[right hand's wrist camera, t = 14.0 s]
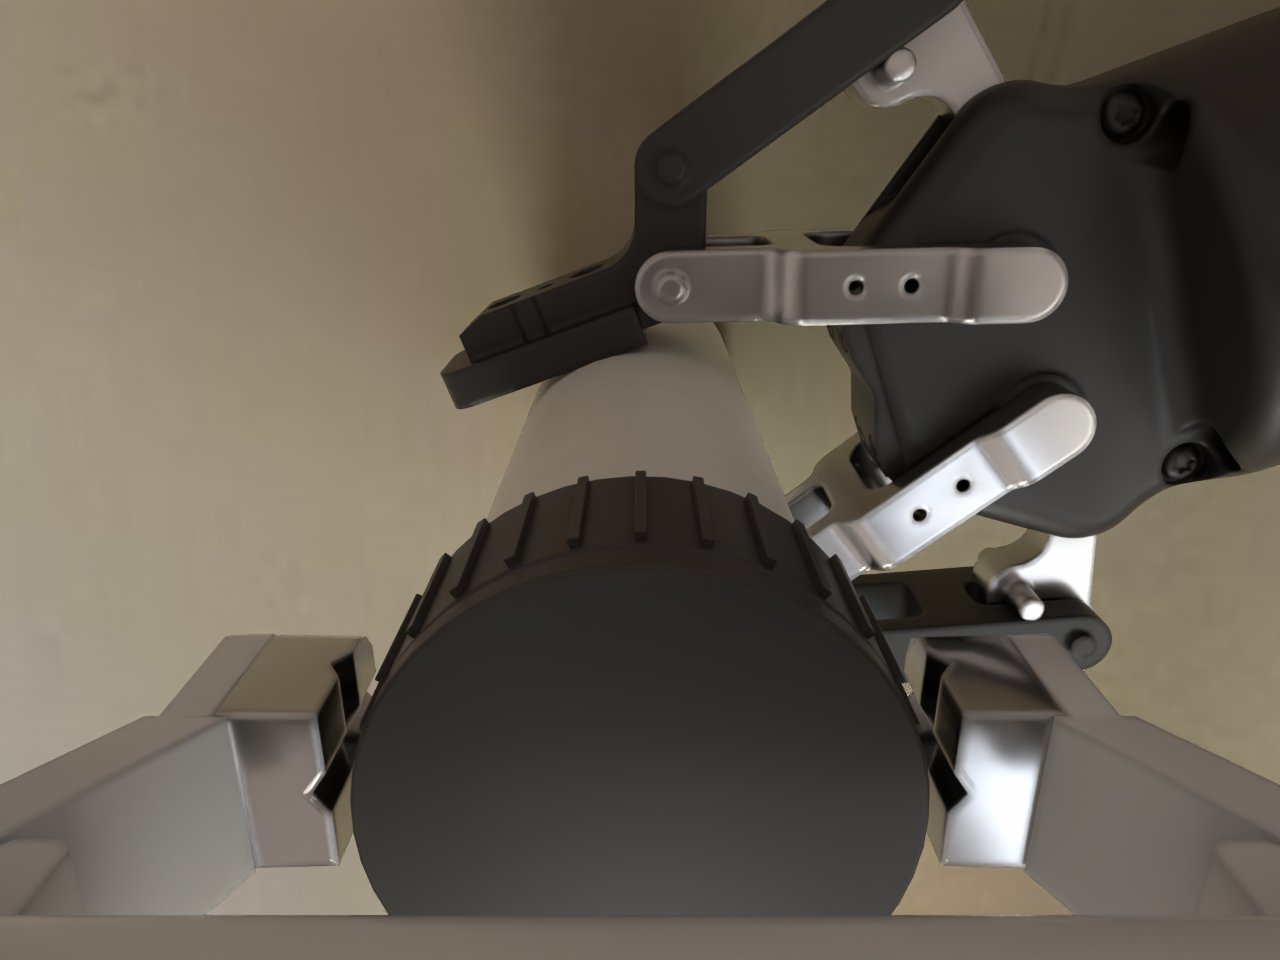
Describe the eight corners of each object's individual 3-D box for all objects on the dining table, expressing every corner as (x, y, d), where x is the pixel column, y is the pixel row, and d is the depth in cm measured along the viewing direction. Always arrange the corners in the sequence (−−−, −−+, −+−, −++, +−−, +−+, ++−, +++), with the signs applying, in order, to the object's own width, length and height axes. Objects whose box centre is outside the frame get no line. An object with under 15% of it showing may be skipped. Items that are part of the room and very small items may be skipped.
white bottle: (566, 270, 23) (423, 532, 8) (745, 301, 23) (938, 613, 8) (541, 441, 25) (383, 930, 9) (709, 469, 25) (814, 986, 10)
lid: (326, 773, 11) (255, 919, 9) (526, 374, 9) (493, 442, 7) (727, 937, 12) (744, 1104, 10) (977, 603, 10) (1063, 722, 8)
